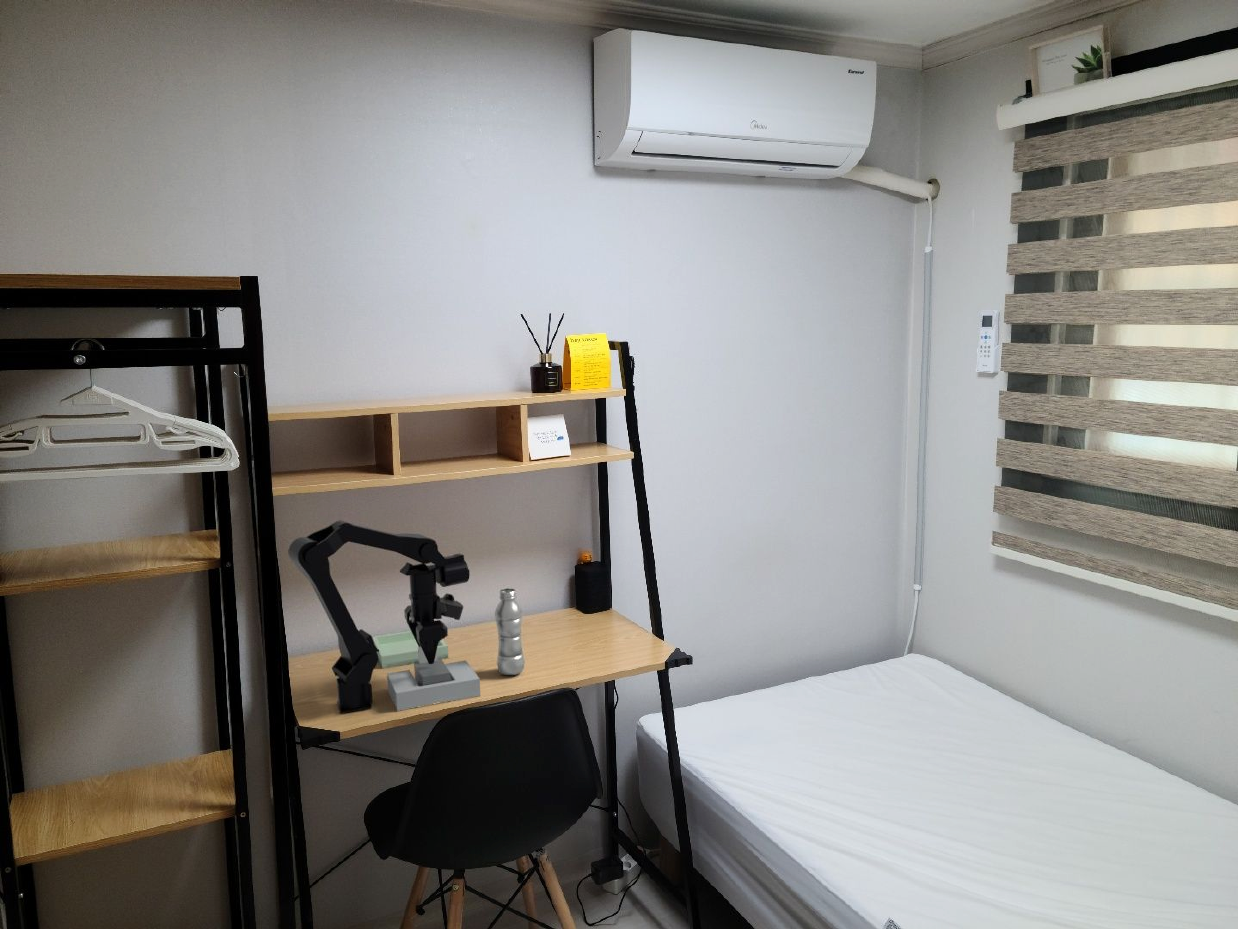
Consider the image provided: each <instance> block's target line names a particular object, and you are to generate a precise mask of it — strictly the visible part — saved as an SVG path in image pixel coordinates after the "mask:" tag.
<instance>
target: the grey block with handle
mask: <svg viewBox="0 0 1238 929" xmlns="http://www.w3.org/2000/svg"><path fill="white" fill-rule="evenodd" d="M418 660H419V662H414V663H413V666H414V667H413V668H414V669H413V670H414V679H415V681H416V683H417V684H418V686H419V687H420V686H426V685H431V684H437V683H443V682H448V681H451V677H450V671H449V670H448V669H447V667H446V666H445V664H446V663H444V661H443V659H441V658H438V659H437V651H436V656H435V660H434V664H429V663H428V661H427V659H426V657H425V655H424V653H423V650H422V648H421V647H418Z"/></svg>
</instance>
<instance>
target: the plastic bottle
mask: <svg viewBox="0 0 1238 929" xmlns="http://www.w3.org/2000/svg"><path fill="white" fill-rule="evenodd" d="M516 598H517V594H516V589H514V588H510V587H507V588H502V589H500V590H499V600H500V601H499V603H498V604H497V606H496V608H495V611H494V618H495V622H496V627H497V636H498V637H497V638H498V646H497V647H498V648H497V659H496V665H497V670H498V671H499V673H500V674H502V675H505V676H515V675H519V674H520V673H521V672H523V671H524V668H525V663H526V662H525V655H524V653H523V646H522V634H521V633H522V619H523V610H522V607H521V605H520V604H519V603H518V601H517V600H516Z"/></svg>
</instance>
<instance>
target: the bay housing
mask: <svg viewBox="0 0 1238 929" xmlns="http://www.w3.org/2000/svg"><path fill="white" fill-rule="evenodd" d="M444 664H445V666H446V667H447V669H448V670H449V671H450V677H451V681H448V682H443V683H437V684H431V685H426V686H420V687H419V686H418V684H417V683H416V681H415V676H413V674H412V672H411V670H410V669H405V670H399V671H395V672H390V673H389V672H388V673H386V679H387V681H386V682H387V692H388V693H389V695H390V698H391V700H392V703H393V702H394V703H393V704H395V705H394V706H396V707H395V708H396V712H400V710H402V711H406V710H405V709H407V710H410V709H409V708H413V709H416V708H415V707H418V706H423V705H429V706H431V705H430V704H433V703H437V702H445V703H448V702H447V701H451V702H455V701H454V700H456V701H459V700H458V699H461V700H466V699H472V698H476V696H478V697H481V682H480V681H481V680H480V677H479V676H478V675H477V673H476V672H475V670H474V669H473V668H472V666H471V665H470V664H469V662H468V661H467V660H466V659H465V660H460V661H455V662H448V663H444ZM418 708H419V707H418Z"/></svg>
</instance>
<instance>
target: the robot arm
mask: <svg viewBox="0 0 1238 929" xmlns="http://www.w3.org/2000/svg"><path fill="white" fill-rule="evenodd" d="M291 542H292V543H290V546H289V548H288V550H287V551H288V552H287V553H288V557H289V559H290V560H291V561H292V563H293V564H294V565H295V566H296V568H297V569H298V570H299V571H300V573H301V574H302V575H303V576H304V577H305V578H306V579H307V580H308V581H309V583H310V585H311V586H312V588H313V590H314V592H315V594H316V596H317V599H318V600H319V602H320V603H321V606H322V608H323V610H324V612H325V614H326V616H327V618H328V620H329V621H330V623H331V625H332V627H333V629H334V631H335V633H336V635H337V641H338V649H339V653H340V656H339V658H338V659H337V660H336V661H335V662H334V664H333V665H332V666H331V669H332V672H333V674H334V676H335V677H337V678H336V688H337V689H336V690H337V701H336V704H337V706H338V710H339V713H340V714H347V713H353V712H357V711H362V710H368V709H372V708H373V707H372V703H373V687H372V683H371V680H372V675H373V672H374V670H375V668H376V667H377V664H378V662H379V657H378V654H377V652H379V649H377V648H376V646H375V644H374V641H373V638H372V637H373V635H371V634H370V633H368V632H367V631H365V630H363V629H362V628H361V629H358V628H357V625H356V623H355V622H354V619H353V618H352V615H351V613H350V611H349V609H348V608H347V606H346V603H345V602H344V599H343V597H342V596H341V594H340V592H339V589H338V588H337V586H336V584H335V582H334V580H333V578H332V575H331V566H330V565H331V564H330V560H329V558H330V557H331V556H333V555H335V553H337V552H338V550H340V549H341V548H342V547H343V546H344V545H345V544H347V543H348V542H350V543H353V544H359V545H363V546H366V547H367V546H368V547H371V548H376V549H382V550H386V551H390V552H395V553H398V554H400V555H401V556H405V557H407V558H409V559H411V560H414V561H416V562H418V563H417V564H412V563H410V562H406V563H405V564H404V566H402V567H401V569H400V570H399V573H401V574H402V575H404V576H406V577H408V576H409V585H410V586H409V587H410V589H409V590H410V593H409V594H408V599H409V601H410V604H411V605H407V606H406V607H405V608H404V610H403V611H404V619H405V620H406V621H405V622H406V623H407V625H408V628H409V631H411V632H412V634H413V636H414V638H415V640H416V642H417V644H418V646H419V647H421V648H422V650H423V653H424V655H425V657H426V659H427V661H428V663H429V664H434V660H435V656H436V651H437V647H438V643H439V642H440V641H441V640H442V639H443V640H444V639H445V638H447V637H448V636H449V634H448V626H447V625H446V624H445V623H444V622H443V621H442V620H441V619H443V617H445V618H450V619H451V618H452V619H453V620H456V621H459V620H461V617H462V614H463V613H462V612H463V610H464V607H465V606H464V605H463V604H462V603H461V602H460V601H458V600H455V597H454V595H453V594H451V593H445V594H444V596H442V597H440V596H439V594H438V593H437V592H438V591H437V584H439V585H440V586H441V587H442V588H446V587H450V586H451V587H452V586H457V585H459V584H460V585H461V584H466V583H467V582H469V580H470V569H469V567H468V563H467V562H466V560H465V555H464V554H462V553H455V554H453V555H449V556H443V554H442V553H441V552H440V551H439V547H438V544H437V541H436V540H434V539H433V538H431V537H427V536H425V535H422V534H420V533H393V532H389V531H388V532H387V531H383V530H380V529H376V528H371V527H368V526H367V527H366V526H362V525H358V524H354V523H350V522H348V521H346V520H342V519H341V520H336V521H335V522H333V523H332V524H329V525H328V526H326V527H324V528H321V529H319V530H316V531H313V532H311V533H310V534H309V535H307V536H300V537H297V538H295V539H294V540H293V541H291ZM430 563H431V564H432V565H427V564H430Z"/></svg>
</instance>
